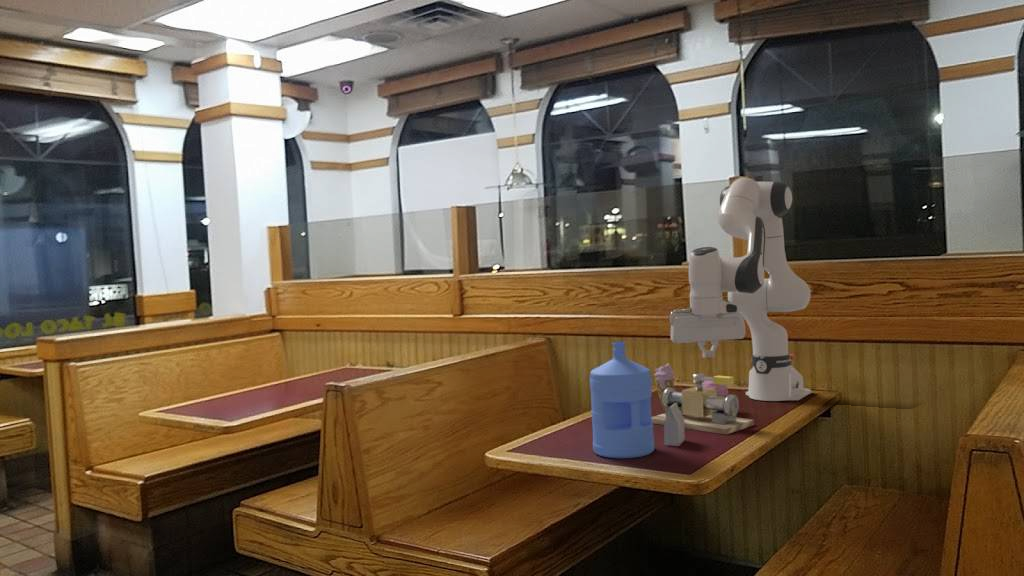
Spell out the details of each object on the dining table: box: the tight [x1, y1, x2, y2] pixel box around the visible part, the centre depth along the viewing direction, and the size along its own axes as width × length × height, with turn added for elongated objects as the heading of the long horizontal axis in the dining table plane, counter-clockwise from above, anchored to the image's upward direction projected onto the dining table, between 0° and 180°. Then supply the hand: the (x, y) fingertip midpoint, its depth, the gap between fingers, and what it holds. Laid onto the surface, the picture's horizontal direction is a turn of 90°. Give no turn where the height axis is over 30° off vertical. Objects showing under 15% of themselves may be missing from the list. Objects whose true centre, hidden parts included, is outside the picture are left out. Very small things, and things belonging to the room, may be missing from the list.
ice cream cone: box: [653, 362, 675, 412], centre depth 259 cm, size 7×6×15 cm
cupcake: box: [702, 381, 729, 398], centre depth 254 cm, size 9×9×10 cm
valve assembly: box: [651, 382, 755, 436], centre depth 239 cm, size 14×26×12 cm, turn 43°
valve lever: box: [692, 373, 735, 386], centre depth 236 cm, size 12×3×2 cm, turn 44°
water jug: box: [589, 341, 655, 459], centre depth 212 cm, size 16×16×28 cm
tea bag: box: [663, 403, 686, 447], centre depth 219 cm, size 4×7×10 cm, turn 155°
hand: (708, 357), depth 228 cm, fingers closed
